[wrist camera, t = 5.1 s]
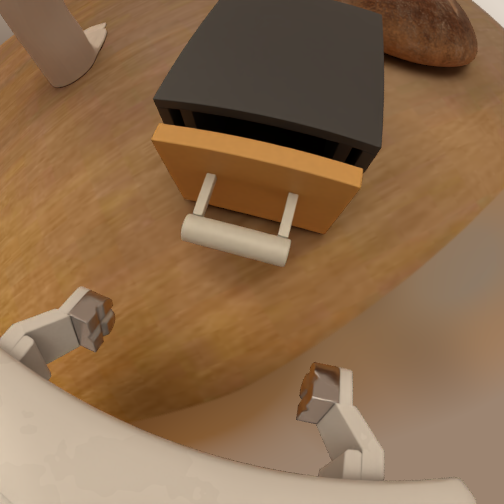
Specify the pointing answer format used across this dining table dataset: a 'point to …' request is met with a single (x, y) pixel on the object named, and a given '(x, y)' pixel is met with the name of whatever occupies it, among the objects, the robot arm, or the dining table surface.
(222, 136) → the drawer
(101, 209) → the dining table surface
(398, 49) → the bread
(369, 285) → the dining table surface
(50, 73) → the candle
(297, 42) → the cabinet
